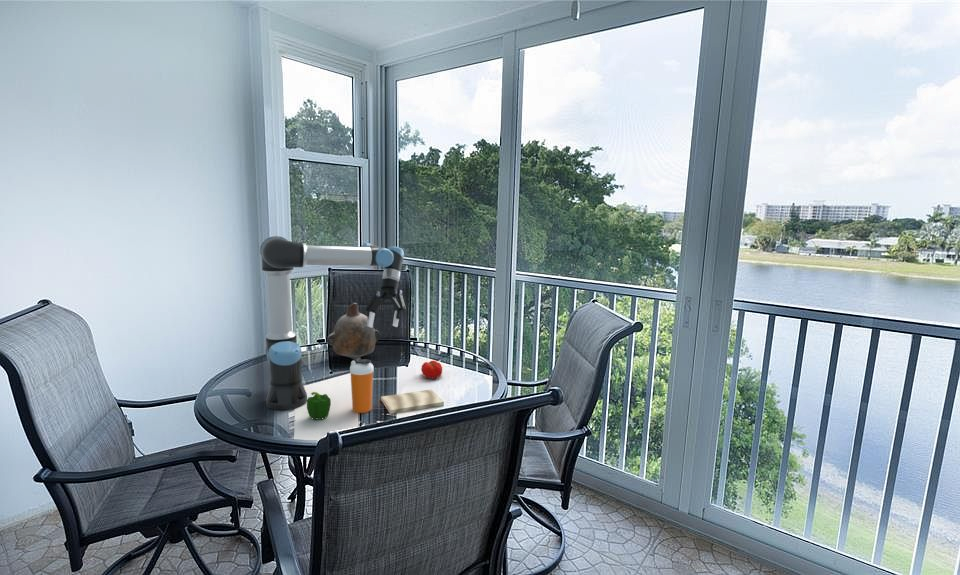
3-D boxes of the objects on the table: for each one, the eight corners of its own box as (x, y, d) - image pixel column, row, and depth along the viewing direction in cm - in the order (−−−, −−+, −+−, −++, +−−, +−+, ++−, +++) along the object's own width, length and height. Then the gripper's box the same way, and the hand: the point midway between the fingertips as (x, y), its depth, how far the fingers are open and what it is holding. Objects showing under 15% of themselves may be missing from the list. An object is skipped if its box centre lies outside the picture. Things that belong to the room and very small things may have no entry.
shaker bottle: (367, 415, 177) (367, 364, 173) (345, 412, 178) (345, 362, 175) (377, 406, 185) (377, 357, 182) (356, 403, 187) (356, 355, 184)
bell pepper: (333, 412, 178) (333, 387, 177) (327, 422, 170) (326, 396, 169) (311, 412, 178) (310, 387, 176) (304, 421, 170) (303, 395, 168)
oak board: (390, 413, 179) (390, 410, 179) (381, 400, 191) (381, 396, 191) (443, 405, 188) (443, 401, 188) (431, 392, 201) (431, 389, 200)
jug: (359, 349, 257) (358, 295, 252) (386, 357, 244) (386, 301, 239) (321, 360, 237) (319, 302, 232) (348, 369, 225) (347, 308, 220)
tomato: (423, 381, 214) (423, 367, 213) (419, 372, 225) (420, 359, 223) (444, 379, 217) (444, 366, 216) (440, 371, 227) (440, 358, 226)
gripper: (418, 281, 205) (411, 328, 198) (373, 285, 216) (365, 329, 209) (409, 275, 199) (400, 323, 192) (363, 279, 210) (353, 324, 203)
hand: (382, 326), depth 201 cm, fingers open, 13 cm apart
